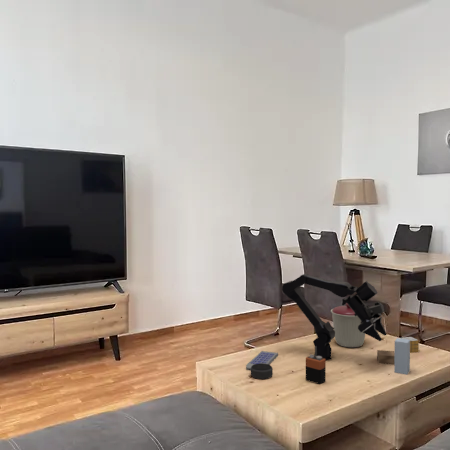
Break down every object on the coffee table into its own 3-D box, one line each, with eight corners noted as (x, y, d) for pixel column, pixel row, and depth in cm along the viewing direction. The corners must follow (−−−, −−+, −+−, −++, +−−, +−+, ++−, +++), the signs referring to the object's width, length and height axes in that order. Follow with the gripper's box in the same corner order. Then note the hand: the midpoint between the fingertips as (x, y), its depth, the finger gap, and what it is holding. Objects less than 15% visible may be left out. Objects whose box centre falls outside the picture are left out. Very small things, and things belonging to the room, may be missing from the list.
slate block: (394, 372, 193) (394, 341, 193) (397, 368, 198) (397, 338, 197) (407, 374, 191) (407, 342, 190) (409, 370, 195) (410, 339, 194)
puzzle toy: (407, 353, 217) (407, 341, 217) (400, 349, 223) (400, 337, 222) (418, 352, 219) (418, 340, 218) (411, 348, 224) (411, 336, 224)
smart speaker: (277, 375, 191) (277, 366, 191) (263, 382, 185) (262, 372, 185) (260, 370, 198) (260, 361, 197) (246, 376, 191) (246, 366, 191)
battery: (320, 384, 181) (320, 359, 181) (305, 380, 186) (305, 355, 186) (326, 381, 185) (326, 356, 184) (311, 377, 189) (311, 352, 189)
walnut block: (378, 364, 204) (378, 355, 204) (377, 358, 211) (377, 350, 210) (395, 365, 202) (395, 356, 202) (393, 359, 209) (393, 351, 209)
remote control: (278, 357, 216) (278, 352, 216) (262, 373, 195) (262, 368, 195) (261, 354, 219) (261, 350, 219) (244, 370, 198) (244, 365, 198)
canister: (325, 340, 239) (325, 298, 238) (360, 338, 241) (360, 297, 240) (338, 351, 221) (338, 306, 220) (375, 349, 223) (375, 305, 222)
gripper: (367, 300, 191) (394, 332, 187) (378, 292, 208) (402, 321, 203) (347, 316, 196) (372, 347, 191) (359, 307, 212) (382, 336, 208)
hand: (383, 337), depth 198 cm, fingers open, 9 cm apart
